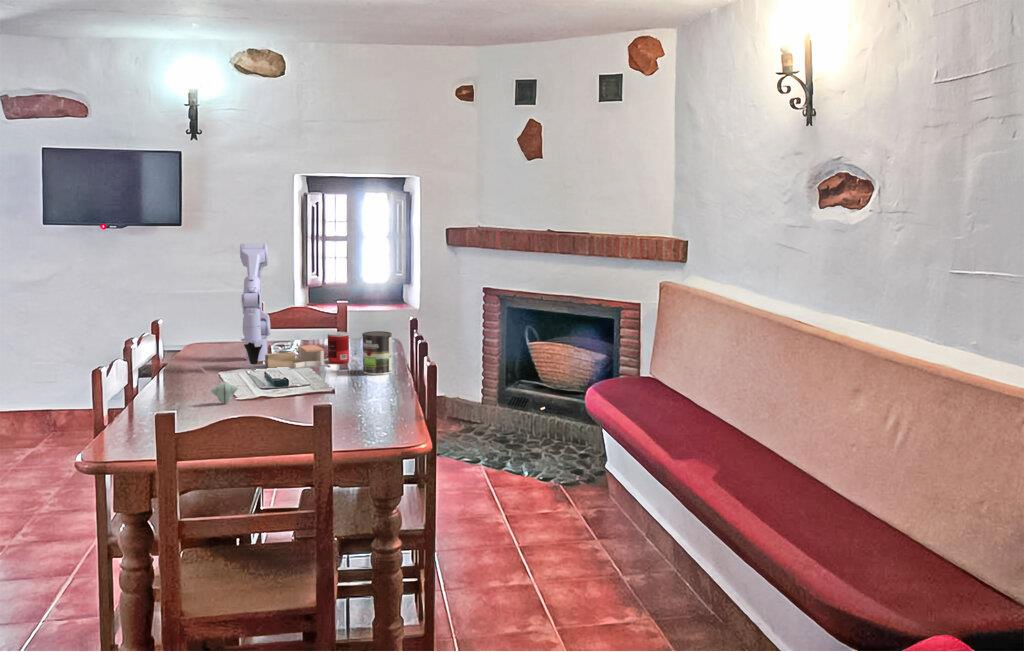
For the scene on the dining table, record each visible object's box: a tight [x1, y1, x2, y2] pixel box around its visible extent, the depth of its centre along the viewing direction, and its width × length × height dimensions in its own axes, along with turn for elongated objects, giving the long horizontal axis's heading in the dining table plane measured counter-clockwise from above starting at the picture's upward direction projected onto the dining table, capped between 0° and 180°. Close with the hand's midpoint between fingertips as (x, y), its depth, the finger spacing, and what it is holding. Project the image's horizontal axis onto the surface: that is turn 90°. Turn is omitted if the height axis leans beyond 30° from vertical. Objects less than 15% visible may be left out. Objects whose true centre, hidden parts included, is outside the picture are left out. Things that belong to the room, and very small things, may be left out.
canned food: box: [327, 331, 350, 365], centre depth 346 cm, size 8×8×11 cm
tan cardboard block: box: [264, 351, 297, 368], centre depth 335 cm, size 4×10×4 cm, turn 119°
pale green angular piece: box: [210, 381, 239, 405], centre depth 279 cm, size 8×4×7 cm, turn 109°
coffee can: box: [361, 330, 393, 376], centre depth 327 cm, size 10×10×14 cm
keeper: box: [245, 344, 331, 371], centre depth 336 cm, size 14×27×7 cm, turn 119°
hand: (253, 363), depth 330 cm, fingers closed
